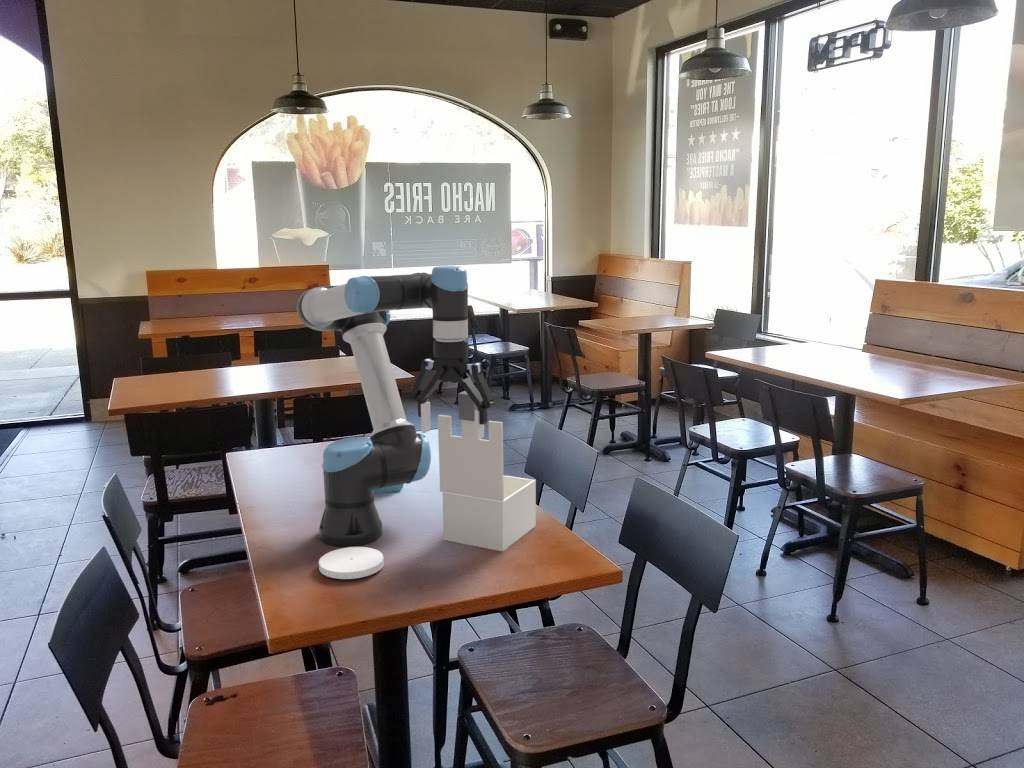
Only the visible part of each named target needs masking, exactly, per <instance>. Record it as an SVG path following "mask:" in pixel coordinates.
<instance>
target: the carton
mask: <svg viewBox="0 0 1024 768" xmlns="http://www.w3.org/2000/svg"><path fill="white" fill-rule="evenodd" d="M503 477H504V501H503V502H500V501H494V500H488V499H482V498H476V497H470V496H464V495H458V494H452V493H446V492H442V523H443V525H442V528H443V529H442V533H443V534H442V535H443V541H446V540H448V542H451V541H452V543H458V544H463V545H466V546H467V545H468V546H473V547H477V546H478V548H483V549H487V550H488V549H489V550H493V551H499V552H504V551H506V550H507V549H508V548H509V547H511V546H512V545H513V544H515V543H516V542H518V540H519V539H521V538H522V537H524V536H525V535H526V534H528V533H529V531H531V530H532V529H533V528H535V527H536V525H537V523H536V521H537V520H536V518H537V515H536V513H537V511H536V505H537V503H536V501H537V498H536V497H537V493H536V492H537V490H536V489H537V487H536V486H537V481H536V480H537V479H532V478H523V477H518V476H512V475H504V474H503Z"/></svg>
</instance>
